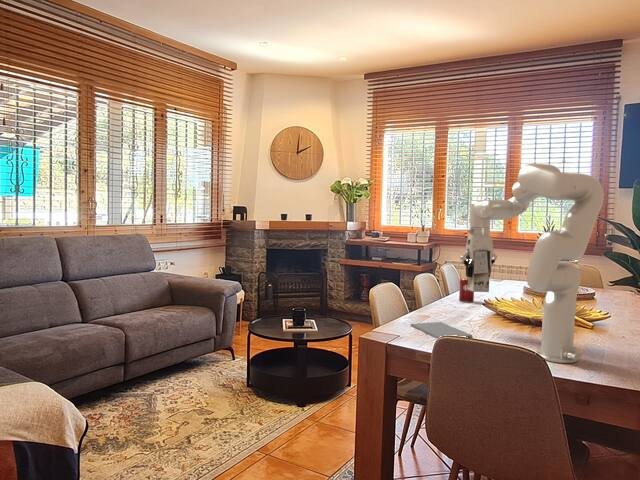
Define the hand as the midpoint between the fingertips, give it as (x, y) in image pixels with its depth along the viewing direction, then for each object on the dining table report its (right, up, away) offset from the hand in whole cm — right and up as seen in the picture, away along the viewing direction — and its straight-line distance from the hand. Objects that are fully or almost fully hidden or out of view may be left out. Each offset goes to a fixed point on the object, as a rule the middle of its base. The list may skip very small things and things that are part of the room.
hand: (478, 276), depth 197 cm
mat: (-15, -22, -1) cm, 26 cm away
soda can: (+13, -18, +62) cm, 66 cm away
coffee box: (0, -6, 0) cm, 6 cm away
